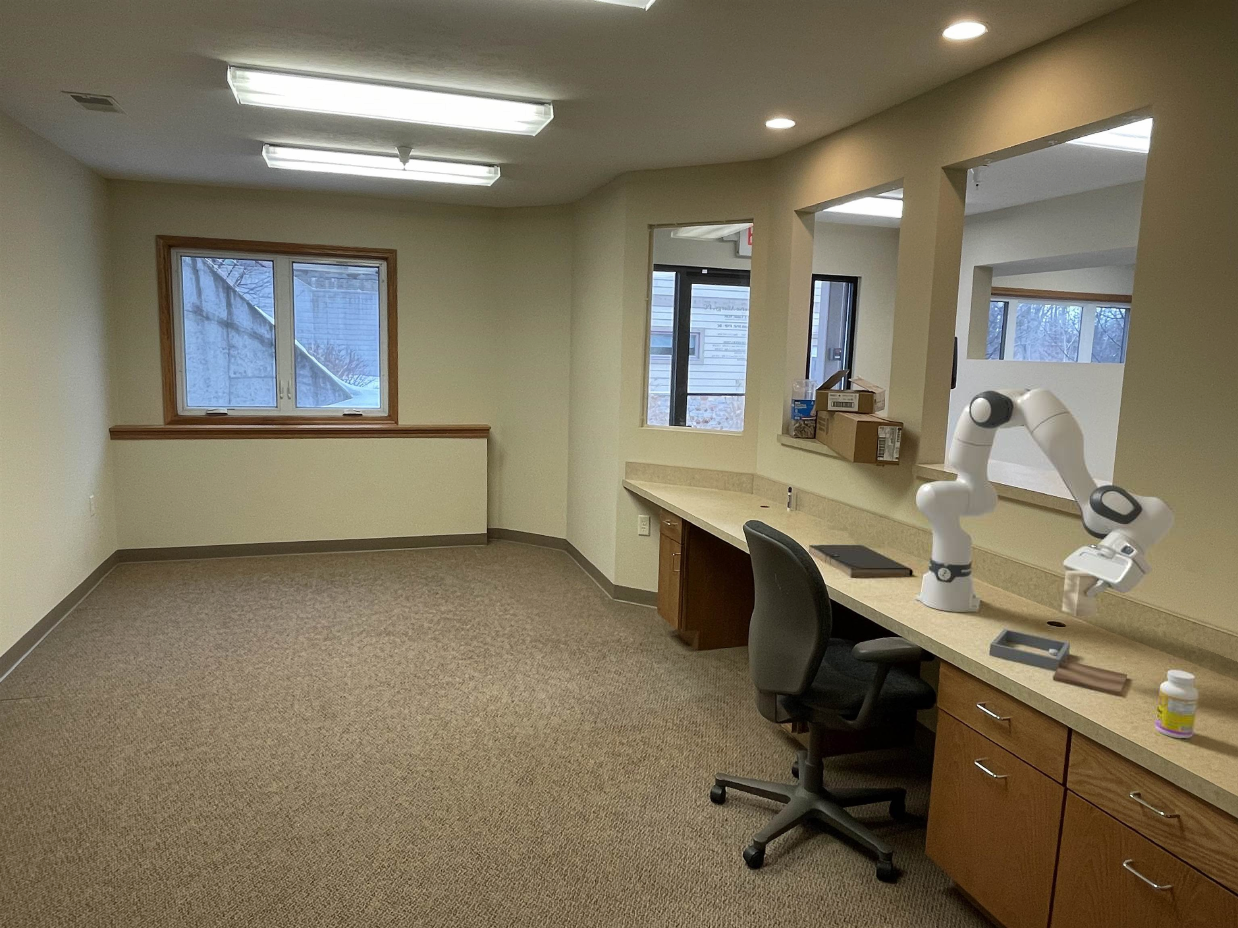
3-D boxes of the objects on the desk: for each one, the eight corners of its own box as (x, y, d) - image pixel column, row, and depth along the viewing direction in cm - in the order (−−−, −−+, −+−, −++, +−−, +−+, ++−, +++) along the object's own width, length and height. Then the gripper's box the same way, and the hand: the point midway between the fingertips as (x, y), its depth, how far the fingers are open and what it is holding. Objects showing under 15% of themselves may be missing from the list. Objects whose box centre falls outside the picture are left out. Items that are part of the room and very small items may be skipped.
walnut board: (1062, 663, 209) (1063, 659, 209) (1126, 678, 201) (1127, 674, 201) (1052, 679, 198) (1053, 675, 198) (1120, 696, 190) (1120, 692, 190)
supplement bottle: (1156, 722, 177) (1164, 665, 175) (1193, 732, 173) (1202, 673, 171) (1152, 732, 172) (1160, 673, 170) (1190, 743, 168) (1199, 683, 166)
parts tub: (1003, 639, 226) (1004, 628, 225) (1068, 653, 216) (1070, 642, 216) (989, 654, 213) (990, 643, 213) (1057, 671, 204) (1059, 659, 203)
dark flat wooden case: (808, 544, 314) (865, 544, 319) (807, 554, 314) (864, 554, 320) (850, 567, 282) (913, 567, 287) (849, 579, 282) (912, 578, 288)
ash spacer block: (1061, 610, 204) (1065, 570, 203) (1080, 609, 205) (1084, 570, 203) (1075, 616, 199) (1079, 575, 198) (1094, 615, 200) (1098, 575, 198)
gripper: (1081, 534, 211) (1043, 571, 211) (1142, 553, 191) (1099, 594, 191) (1095, 551, 212) (1057, 588, 212) (1157, 571, 192) (1115, 612, 192)
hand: (1077, 591), depth 201 cm, fingers closed on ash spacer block, 5 cm apart
